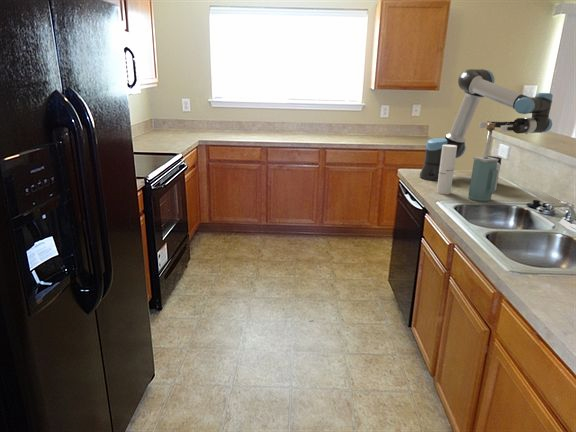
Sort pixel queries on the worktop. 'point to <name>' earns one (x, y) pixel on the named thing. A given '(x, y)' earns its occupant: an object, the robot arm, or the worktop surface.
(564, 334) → the worktop surface
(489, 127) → the plunger
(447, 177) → the cylindrical container
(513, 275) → the worktop surface
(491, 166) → the press pot
